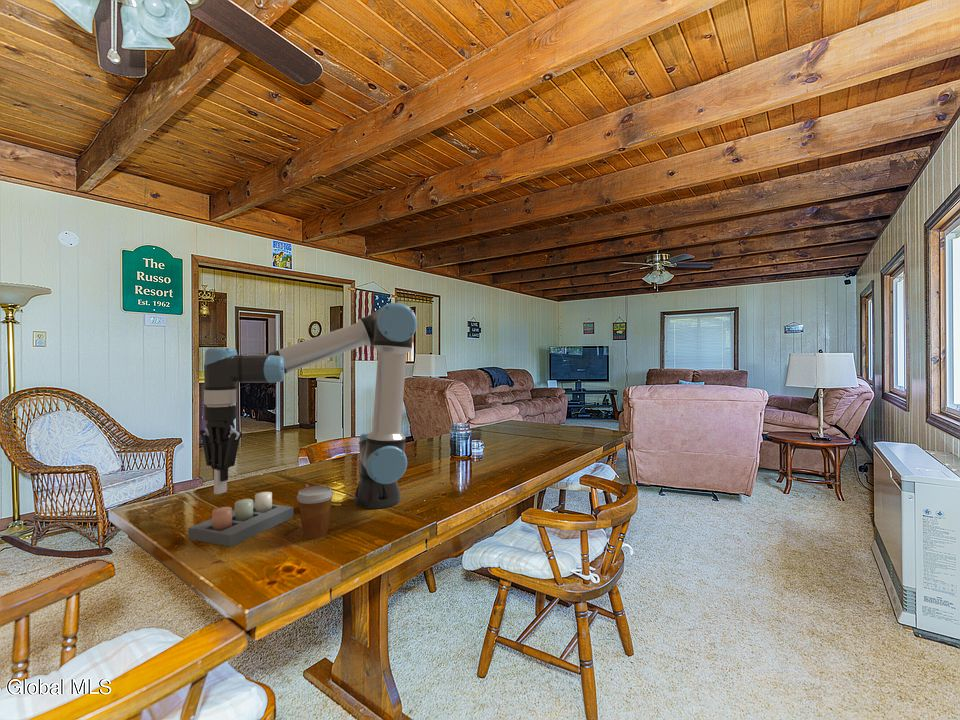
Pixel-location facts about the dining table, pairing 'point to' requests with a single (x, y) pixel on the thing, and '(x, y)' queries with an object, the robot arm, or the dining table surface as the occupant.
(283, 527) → the dining table surface
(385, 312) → the robot arm
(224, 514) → the terracotta button
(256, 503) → the cream short cylinder
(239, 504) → the sage button
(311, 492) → the disposable coffee cup
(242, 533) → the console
